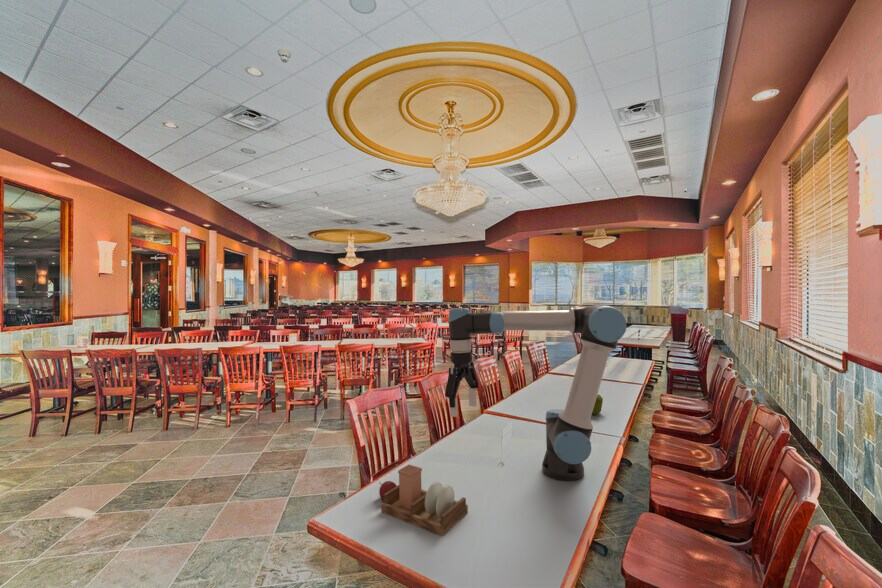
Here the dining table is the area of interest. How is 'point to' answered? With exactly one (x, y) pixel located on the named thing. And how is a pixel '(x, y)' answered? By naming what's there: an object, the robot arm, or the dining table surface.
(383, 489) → the fruit
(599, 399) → the apple
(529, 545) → the dining table surface
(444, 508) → the plates
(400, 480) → the tall tan box
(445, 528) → the rack
